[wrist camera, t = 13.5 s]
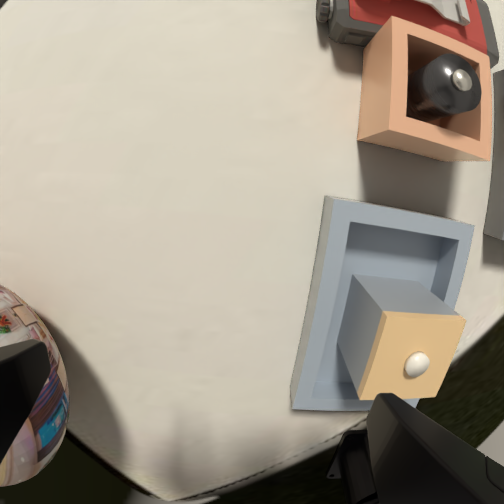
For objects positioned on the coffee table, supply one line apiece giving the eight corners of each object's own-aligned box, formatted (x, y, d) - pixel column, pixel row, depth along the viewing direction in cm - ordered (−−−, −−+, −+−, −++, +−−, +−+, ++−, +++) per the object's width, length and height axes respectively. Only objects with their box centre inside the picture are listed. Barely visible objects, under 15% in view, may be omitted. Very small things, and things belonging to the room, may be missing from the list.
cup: (442, 161, 17) (489, 161, 12) (356, 140, 17) (388, 129, 12) (446, 75, 15) (489, 56, 11) (363, 49, 15) (391, 15, 11)
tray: (403, 388, 21) (414, 408, 18) (290, 386, 21) (292, 408, 18) (453, 219, 18) (474, 225, 15) (324, 195, 18) (333, 198, 15)
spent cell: (428, 130, 16) (486, 118, 10) (387, 118, 16) (437, 98, 10) (430, 88, 15) (484, 64, 9) (390, 75, 15) (436, 42, 9)
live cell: (398, 343, 19) (438, 401, 13) (336, 341, 19) (361, 405, 13) (416, 280, 18) (470, 324, 12) (352, 273, 18) (390, 320, 12)
